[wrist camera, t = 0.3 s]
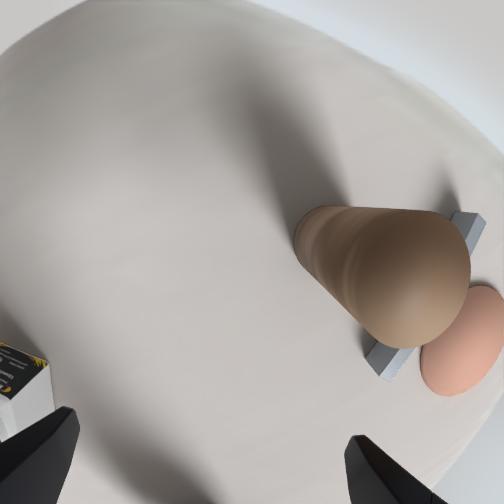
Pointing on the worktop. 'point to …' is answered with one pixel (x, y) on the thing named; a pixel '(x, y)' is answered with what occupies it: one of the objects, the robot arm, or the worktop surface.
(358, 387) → the worktop surface
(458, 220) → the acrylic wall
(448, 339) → the resting pad
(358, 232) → the walnut cylinder
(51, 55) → the worktop surface
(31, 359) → the medicine bottle
